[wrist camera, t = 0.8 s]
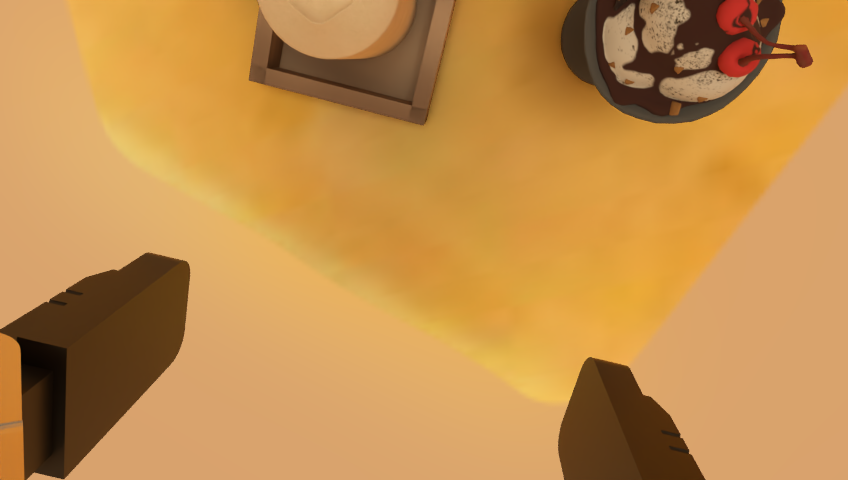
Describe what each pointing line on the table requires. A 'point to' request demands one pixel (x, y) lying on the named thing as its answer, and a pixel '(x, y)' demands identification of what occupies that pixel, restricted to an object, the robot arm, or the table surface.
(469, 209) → the table surface
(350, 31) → the candle
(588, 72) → the sundae
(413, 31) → the tray
